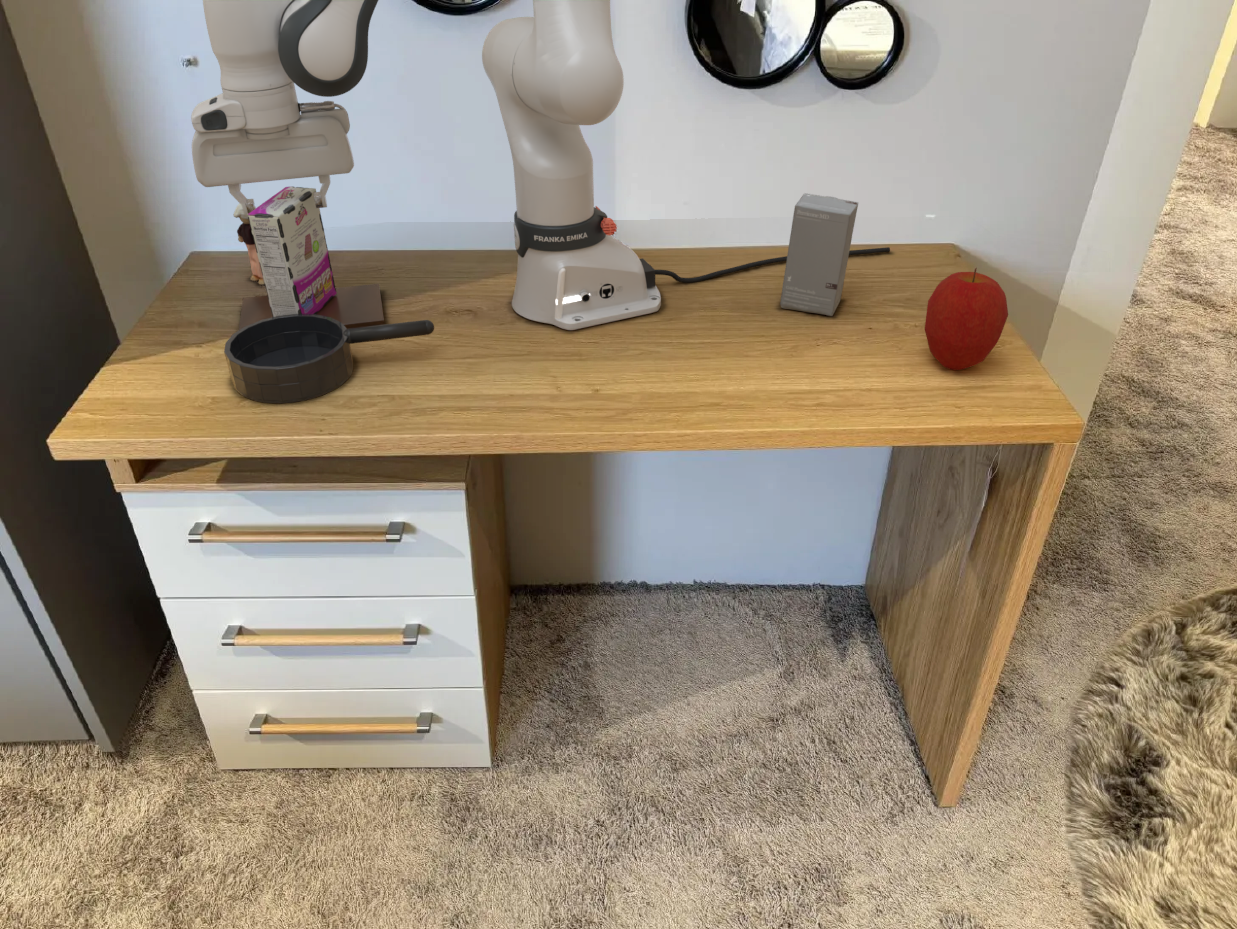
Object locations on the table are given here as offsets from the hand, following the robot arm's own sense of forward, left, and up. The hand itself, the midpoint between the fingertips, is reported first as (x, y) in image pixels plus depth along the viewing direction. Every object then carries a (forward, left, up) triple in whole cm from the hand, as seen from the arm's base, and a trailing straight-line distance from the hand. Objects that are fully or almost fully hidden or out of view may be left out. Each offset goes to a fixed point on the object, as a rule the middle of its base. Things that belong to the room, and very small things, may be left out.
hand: (286, 210), depth 131 cm
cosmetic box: (-74, +15, -17) cm, 77 cm away
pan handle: (-11, +17, -13) cm, 24 cm away
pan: (+2, +16, -16) cm, 23 cm away
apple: (-85, +37, -17) cm, 94 cm away
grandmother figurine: (+7, -16, -17) cm, 25 cm away
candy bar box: (0, 0, -15) cm, 15 cm away
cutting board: (-1, 0, -16) cm, 16 cm away
